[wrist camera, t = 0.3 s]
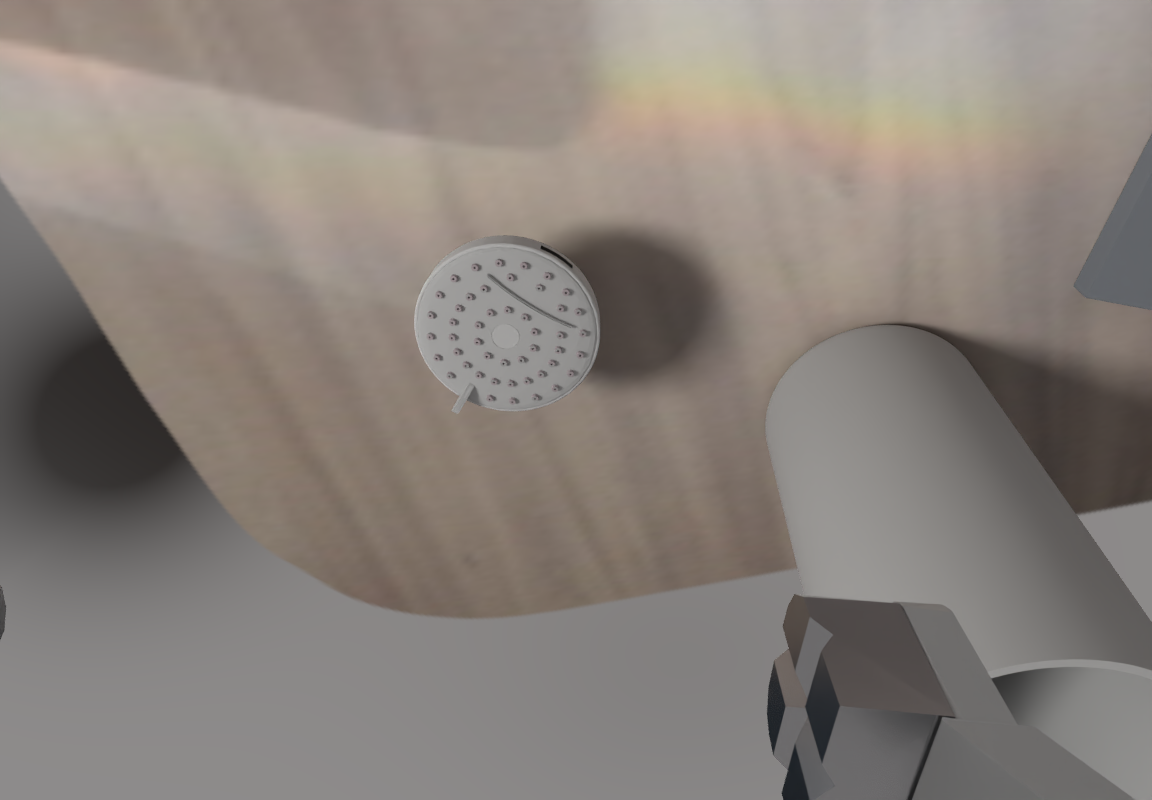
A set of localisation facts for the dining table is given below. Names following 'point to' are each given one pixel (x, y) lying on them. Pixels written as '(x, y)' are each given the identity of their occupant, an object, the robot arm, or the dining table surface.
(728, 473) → the dining table surface
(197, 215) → the dining table surface
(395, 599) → the dining table surface
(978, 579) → the cylinder vase
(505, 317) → the showerhead
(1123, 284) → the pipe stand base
